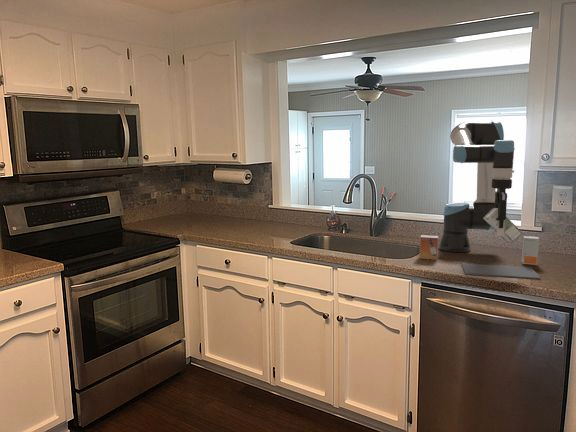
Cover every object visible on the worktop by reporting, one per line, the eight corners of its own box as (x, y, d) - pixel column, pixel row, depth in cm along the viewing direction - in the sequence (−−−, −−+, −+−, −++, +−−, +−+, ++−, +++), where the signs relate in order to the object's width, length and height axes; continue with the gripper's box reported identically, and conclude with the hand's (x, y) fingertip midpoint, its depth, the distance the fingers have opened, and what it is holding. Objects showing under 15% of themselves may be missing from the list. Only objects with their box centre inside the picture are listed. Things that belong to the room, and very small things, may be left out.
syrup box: (517, 233, 195) (492, 208, 196) (523, 233, 189) (497, 207, 191) (507, 242, 195) (482, 217, 196) (513, 242, 189) (487, 217, 191)
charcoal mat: (461, 264, 207) (461, 263, 207) (531, 268, 200) (531, 267, 200) (465, 274, 192) (465, 273, 192) (540, 279, 185) (540, 277, 185)
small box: (419, 259, 218) (419, 236, 217) (420, 256, 224) (420, 234, 222) (437, 260, 216) (438, 237, 214) (437, 257, 221) (438, 235, 219)
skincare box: (522, 264, 207) (524, 237, 205) (521, 261, 211) (522, 235, 209) (537, 265, 205) (539, 238, 203) (536, 263, 209) (538, 236, 207)
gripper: (516, 180, 180) (513, 239, 183) (507, 176, 199) (504, 230, 202) (495, 180, 182) (492, 238, 185) (488, 176, 201) (485, 229, 204)
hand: (498, 233), depth 194 cm, fingers closed on syrup box, 7 cm apart
